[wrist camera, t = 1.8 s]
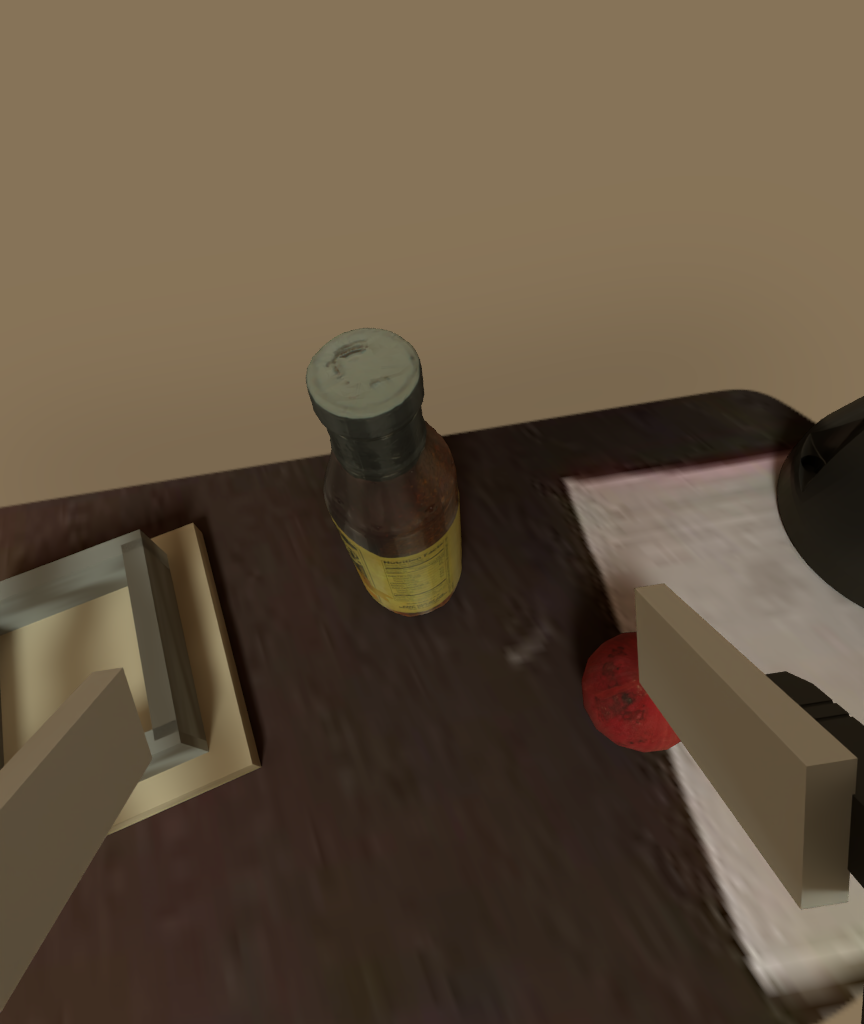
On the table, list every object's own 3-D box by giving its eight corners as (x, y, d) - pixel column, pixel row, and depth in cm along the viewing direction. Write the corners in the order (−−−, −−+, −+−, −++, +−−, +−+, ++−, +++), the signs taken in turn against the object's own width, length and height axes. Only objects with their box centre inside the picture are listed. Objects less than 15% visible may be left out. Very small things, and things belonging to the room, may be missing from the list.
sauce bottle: (372, 530, 40) (291, 290, 22) (465, 533, 39) (457, 290, 22) (358, 624, 36) (253, 431, 19) (460, 630, 36) (446, 436, 18)
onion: (609, 779, 31) (648, 763, 24) (553, 680, 34) (572, 641, 27) (700, 729, 32) (762, 699, 25) (638, 636, 35) (679, 587, 28)
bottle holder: (202, 532, 40) (168, 496, 36) (261, 767, 33) (228, 756, 28) (-40, 625, 38) (-106, 597, 34) (-35, 898, 31) (-119, 908, 26)
